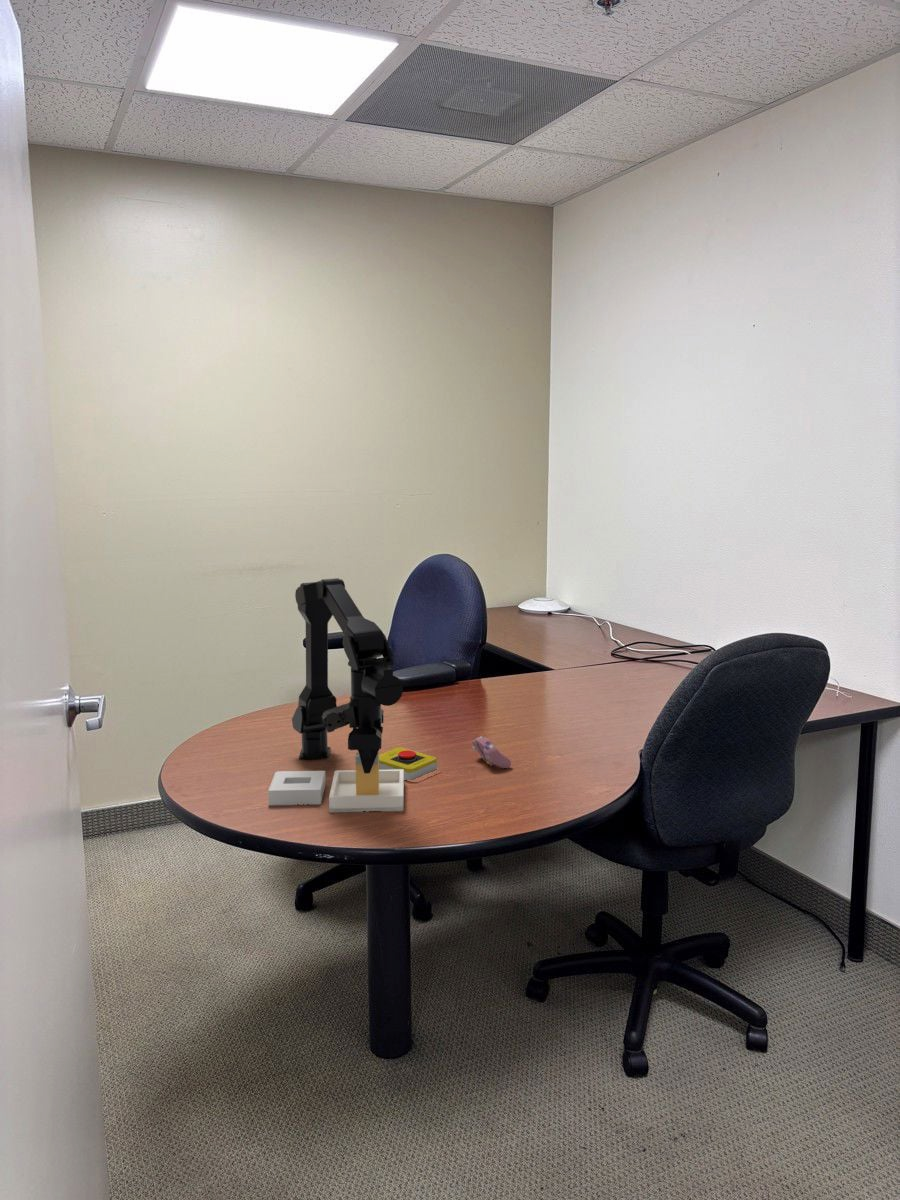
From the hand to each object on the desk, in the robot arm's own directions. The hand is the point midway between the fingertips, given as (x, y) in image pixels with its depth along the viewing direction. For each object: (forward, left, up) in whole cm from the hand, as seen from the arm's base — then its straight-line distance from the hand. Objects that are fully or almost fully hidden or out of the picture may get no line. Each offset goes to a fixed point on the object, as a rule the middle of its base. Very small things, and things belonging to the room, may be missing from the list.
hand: (367, 769), depth 173 cm
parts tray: (0, 0, -6) cm, 6 cm away
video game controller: (-18, +26, -6) cm, 32 cm away
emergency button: (-15, +7, -7) cm, 18 cm away
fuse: (0, 0, -5) cm, 5 cm away
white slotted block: (-2, -14, -6) cm, 15 cm away
